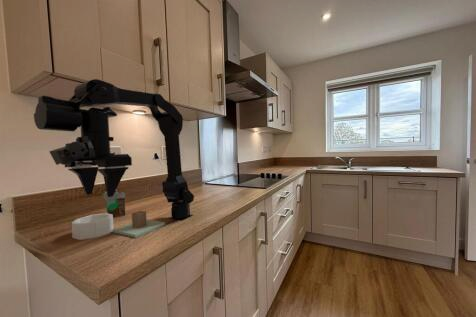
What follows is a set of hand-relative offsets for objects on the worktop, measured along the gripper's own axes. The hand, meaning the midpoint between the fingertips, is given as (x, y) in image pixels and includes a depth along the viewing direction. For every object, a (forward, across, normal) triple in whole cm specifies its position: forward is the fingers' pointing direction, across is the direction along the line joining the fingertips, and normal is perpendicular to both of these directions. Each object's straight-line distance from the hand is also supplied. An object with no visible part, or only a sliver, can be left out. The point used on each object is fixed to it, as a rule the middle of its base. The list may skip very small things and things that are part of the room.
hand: (99, 195), depth 50 cm
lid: (+14, -5, +14) cm, 21 cm away
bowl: (+15, -16, +6) cm, 23 cm away
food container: (+15, -29, +20) cm, 38 cm away
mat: (+15, -5, +14) cm, 21 cm away
